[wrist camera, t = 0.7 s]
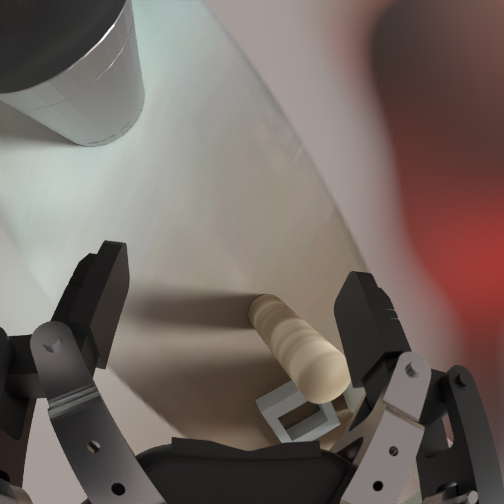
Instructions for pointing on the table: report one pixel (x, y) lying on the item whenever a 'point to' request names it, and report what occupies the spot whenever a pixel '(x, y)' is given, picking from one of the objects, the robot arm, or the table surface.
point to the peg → (300, 350)
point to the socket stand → (311, 418)
